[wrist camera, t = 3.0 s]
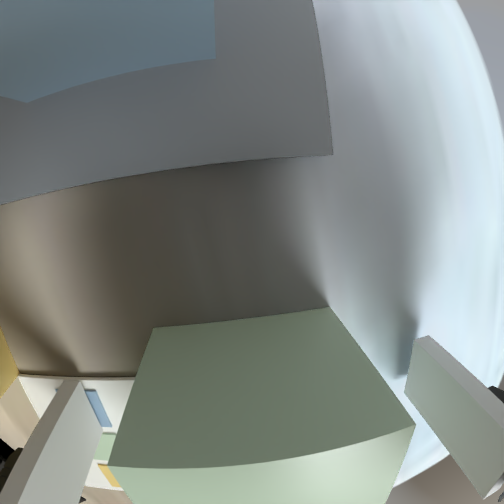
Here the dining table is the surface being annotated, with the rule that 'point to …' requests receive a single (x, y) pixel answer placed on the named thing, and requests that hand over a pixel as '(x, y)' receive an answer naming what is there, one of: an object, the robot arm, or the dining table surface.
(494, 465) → the robot arm
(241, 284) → the dining table surface
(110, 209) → the dining table surface
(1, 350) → the ochre brick
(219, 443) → the sage brick
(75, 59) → the blue base brick
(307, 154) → the slate board
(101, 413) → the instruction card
